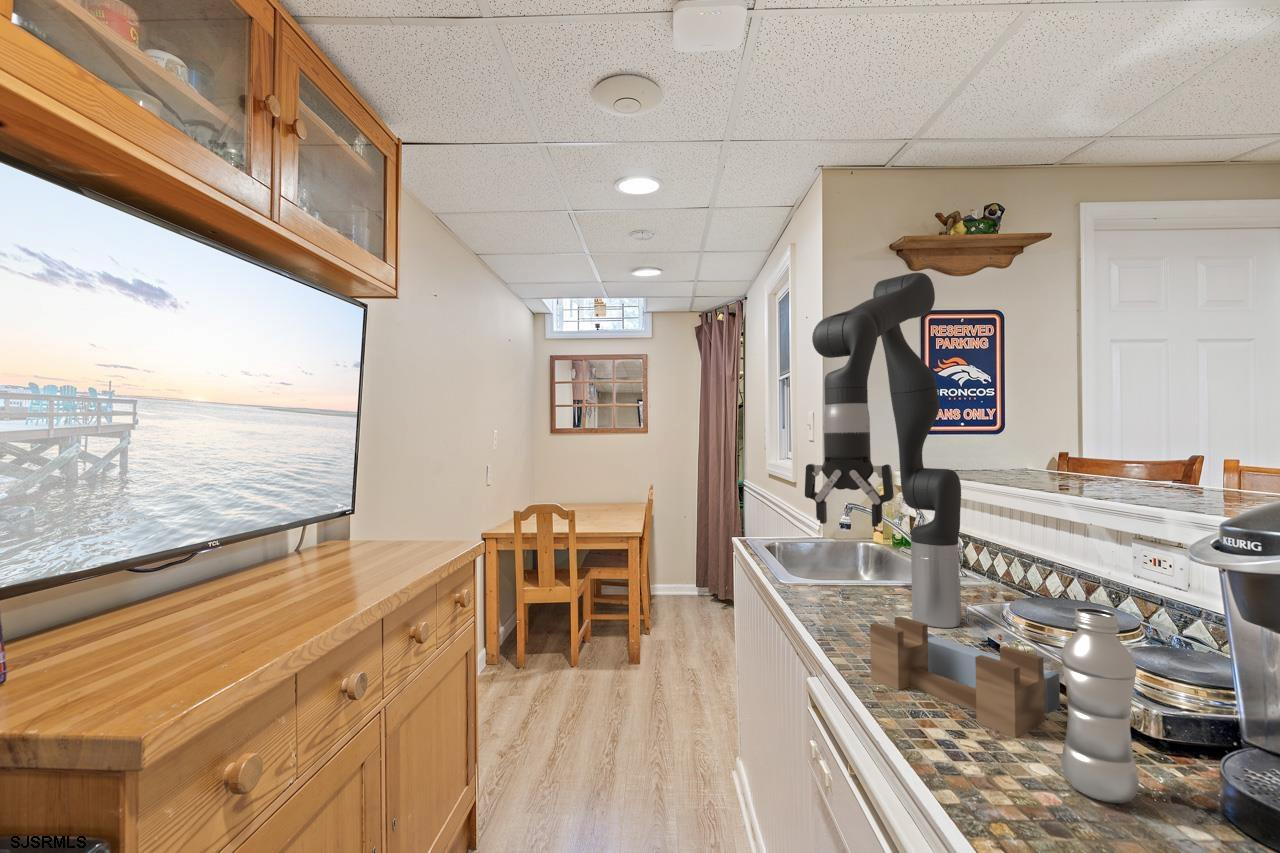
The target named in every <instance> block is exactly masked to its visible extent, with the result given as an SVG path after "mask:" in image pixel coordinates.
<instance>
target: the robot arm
mask: <svg viewBox="0 0 1280 853" xmlns="http://www.w3.org/2000/svg"><path fill="white" fill-rule="evenodd" d="M935 293H936V292H935V288H934V284H933V281H932V278H930V276H929V275H927V274H926V273H923V272H913V273H912V272H911V273H906V274H903V275H900V276H899V275H898V276H894V277H890V278H886V279H882V280H880V281H878V282H877V283H876V284H874V286H873V293H872V294H873V296H872V298H870V299H867V300H865V301H863V302H861V303H859V304H858V305H856V306H854V307H852V308H851V309H849V310H846V311H842V312H839V313H836V314H833V315H830V316H827V317H825V318H823V319H821V320H820V321H819V322H818V323H817V324H816V326H815V327H814V330H813V332H812V338H811V339H812V341H811V342H812V345H813V348H814V349H815V352H817V353H818V354H819V355H820V356H822V357H824V358H829V359H833V358H842V357H849V358H848V360H847V362H846V364H845V365H843V367H841V368H837V369H835V370H832V371H830V372H828V373H827V374H826V375H825V376H824V382H823V383H824V385H823V386H824V412H823V424H822V425H823V426H822V430H823V451H824V454H823V456H824V461H823V464H822V465H819V464H814V463H808V464H807V465H806V466H805V475H804V478H805V479H804V497H805V498H807V499H811V500H813V501H814V502H815V510H816V511H815V516H816V519H817V521H819V523H820V524H823V525H825V524H827V522H828V521H827V520H828V519H827V516H828V512H827V510H828V509H827V501H826V498H827V497H828V495H830V493H831V492H832V491H833V490H834V488H835V489H837V490H846V489H848V490H850V491H851V490H852V491H857V490H859V489H861V491H863V493H864V494H865V495H866V496H867V498H869V499H870V500H871V502H872V504H871V526H872V528H878V527H879V524H881V523H882V522H883V504H884V503H886V502H890V501H892V500H893V499H894V485H893V484H894V483H893V482H894V481H893V474H892V466H891V465H890V464H887V463H886V464H884V465H874V464H873V463H872V460H871V458H872V457H871V418H870V412H869V404H868V403H869V400H868V398H869V397H868V396H869V395H868V379H869V374H870V370H871V366H872V365H871V364H872V361H873V358H874V353H875V350H876V346H877V343H878V338H881V342H882V347H883V350H884V355H885V363H886V370H887V376H888V387H889V395H890V400H891V406H892V411H893V417H894V422H895V423H894V424H895V429H896V436H897V444H898V456H899V457H898V458H899V473H900V475H899V476H900V488H901V493H902V494H901V495H902V497H903V500H904V502H905V504H906V505H907V507H909V508H911V509H916V510H923V511H933V512H934V517H933V519H932V520H931V521H929V522H928V523H925V524H919V525H915V526H914V527H912V528H911V530H910V553H911V554H910V556H911V557H910V558H911V563H910V564H911V611H912V612H911V618H912V619H911V620H915V621H918V622H922V623H925V624H928V627H934V628H944V629H945V628H947V629H948V628H956V627H959V626H960V624H961V622H962V603H961V602H962V599H961V598H962V594H961V591H962V590H961V586H962V585H961V578H960V569H959V568H960V564H959V563H960V561H959V560H960V558H959V536H960V535H959V534H960V529H961V508H962V507H961V506H962V505H961V504H962V486H961V480H960V479H961V478H960V477H959V475H958V474H957V472H956V471H955V470H953V469H949V468H934V467H933V468H931V467H927V468H926V467H924V462H923V448H924V444H925V442H926V439H927V437H928V435H929V433H930V431H931V429H932V427H933V426H934V425H935V421H937V417H938V415H939V412H940V405H941V404H940V396H939V392H938V383H937V378H936V376H935V374H934V373H933V371H932V370H931V369H930V367H929V366H928V365H927V364H926V363H925V362H924V361H923V360H922V358H920V357H919V355H918V354H916V352H915V351H914V350H913V349H912V348H911V347H910V345H909V343H908V341H907V340H906V338H905V336H904V333H903V331H902V329H901V323H903V322H905V321H908V320H911V319H916V318H920V317H923V316H925V315H927V314H929V313H930V312H931V311H932V309H933V308H934V304H935V299H936V296H935V295H936V294H935ZM820 472H822V473H823V475H824V476H825V477H826V479H827V481H826V482H824V485H822V487H821V488H820V490H819V491H818V492H817V491H816V477H818V476H819V475H820ZM874 473H876V474H877V477H878V478H880V479H882V486H883V487H882V489H883V494H880V493H878V491H877V490H876V489H875V487H874V486H873V484H872V483H871V482H870V480H869V479H870V477H871V476H872V475H873V474H874Z"/></svg>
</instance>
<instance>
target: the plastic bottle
mask: <svg viewBox="0 0 1280 853" xmlns="http://www.w3.org/2000/svg"><path fill="white" fill-rule="evenodd" d="M1073 621H1074V622H1073V624H1074V627H1076V628H1077V630H1076V632H1074V633H1073V634H1072V635H1071V636H1070V637H1069V638H1068V639H1067V640H1066V642H1065V643H1064V645H1063V647H1062V650H1061V653H1060V657H1061V658H1060V659H1061V663H1062V670H1063V671H1062V672H1063V675H1064V682H1065V688H1066V701H1067V721H1066V722H1067V725H1066V732H1065V741H1064V744H1063V746H1062V754H1061V760H1060V761H1061V766H1062V772H1063V774H1064V776H1065V778H1066V779H1067V781H1068V783H1069V784H1070V785H1071V786H1072V787H1073V788H1074V790H1077V791H1078V792H1080V793H1082V794H1083V795H1085V796H1087V797H1090V798H1092V799H1095V800H1098V801H1101V802H1104V803H1105V802H1106V803H1109V804H1120V805H1121V804H1123V805H1124V804H1128V803H1130V802H1131V801H1132V800H1133V799H1134V798H1135V797H1136V796H1137V794H1138V789H1139V784H1140V778H1139V773H1138V768H1137V764H1136V760H1135V758H1134V752H1133V751H1134V750H1133V742H1132V733H1131V715H1132V700H1133V693H1134V688H1135V683H1136V676H1137V664H1136V662H1135V659H1134V657H1133V656H1132V654H1131V653H1130V651H1129V650H1128V649H1127V647H1126V646H1125V645H1124V644H1123V643H1122V642H1121V640H1120V639H1119V638H1118V637H1117V634H1119V633H1120V627H1119V626H1118V625H1119V624H1118V615H1117V614H1116V613H1115V612H1113V611H1110V610H1105V609H1101V608H1095V607H1094V608H1093V607H1076V608H1074V620H1073Z"/></svg>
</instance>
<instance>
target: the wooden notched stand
mask: <svg viewBox="0 0 1280 853" xmlns="http://www.w3.org/2000/svg"><path fill="white" fill-rule="evenodd" d="M869 627H870V628H869V630H870V631H869V632H870V635H869V637H870V643H869V644H870V680H872V681H874V682H876V683H879V684H881V685H884V686H886V687H889V688H892V689H893V690H894V689H895V690H897V691H901V690H904V689H906V688H908V687H911V688H914V689H916V690H919V691H921V692H924V693H926V694H929V695H931V696H934V697H936V698H940V699H941V700H944V701H947V702H950V703H952V704H954V705H957V706H960V707H962V708H965V709H968V710H969V711H973V712H975V713H976V723H977V724H980V725H982V726H985V727H988V728H990V729H993V730H995V731H997V732H999V733H1002V734H1005V735H1007V736H1009V737H1012V738H1015V739H1016V738H1018V737H1020V736H1023V735H1024V734H1026V733H1028V732H1029V731H1031V730H1033V729H1035V728H1037V727H1039V726H1041V725H1043V724H1045V723H1046V721H1045V720H1046V718H1045V716H1046V714H1045V707H1044V669H1045V666H1044V664H1045V662H1044V656H1041V655H1038V654H1034V653H1032V652H1031V653H1030V652H1027V651H1024V650H1020V649H1017V648H1012V647H1009V646H1005V645H1004V646H1002V647H1000V648H999V656H1000V660H996V659H993V658H990V657H987V656H983V655H979V656H977V657H975V663H976V688H974V687H971V686H968V685H965V684H963V683H960V682H957V681H954V680H951V679H949V678H946V677H943V676H940V675H937V674H935V673H932V672H929V671H928V635H929V630H928V629H929V626H928V624H925V623H922V622H918V621H915V620H913V619H911V618H907V617H904V616H900V615H899V616H896V617H894V627H892V626H890V625H889V626H888V625H885V624H882V623H878V622H873V623H870V624H869Z"/></svg>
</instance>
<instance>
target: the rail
mask: <svg viewBox="0 0 1280 853" xmlns="http://www.w3.org/2000/svg"><path fill="white" fill-rule="evenodd" d="M979 655H983V656H987V657H990V658H993V659H996V660H1000V655H998V654H995V653H992V652H988V651H984V650H982V649H978V648H975V647H971V646H967V645H965V644H961V643H958V642H955V641H952V640H947V639H944V638H942V637H938V636H936V635H932V634H928V672H931V673H933V674H936V675H939V676H942V677H944V678H947V679H950V680H953V681H956V682H958V683H961V684H964V685H967V686H970V687H972V688H975V689H976V663H975V657H977V656H979ZM1060 685H1061V684H1060V673H1059V672H1056V671H1052V670H1048V669H1045V668H1044V707H1045V715H1049V714H1051V713H1053V712H1055V711H1057V710H1059V709H1061V691H1060V690H1061V688H1060Z"/></svg>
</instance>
